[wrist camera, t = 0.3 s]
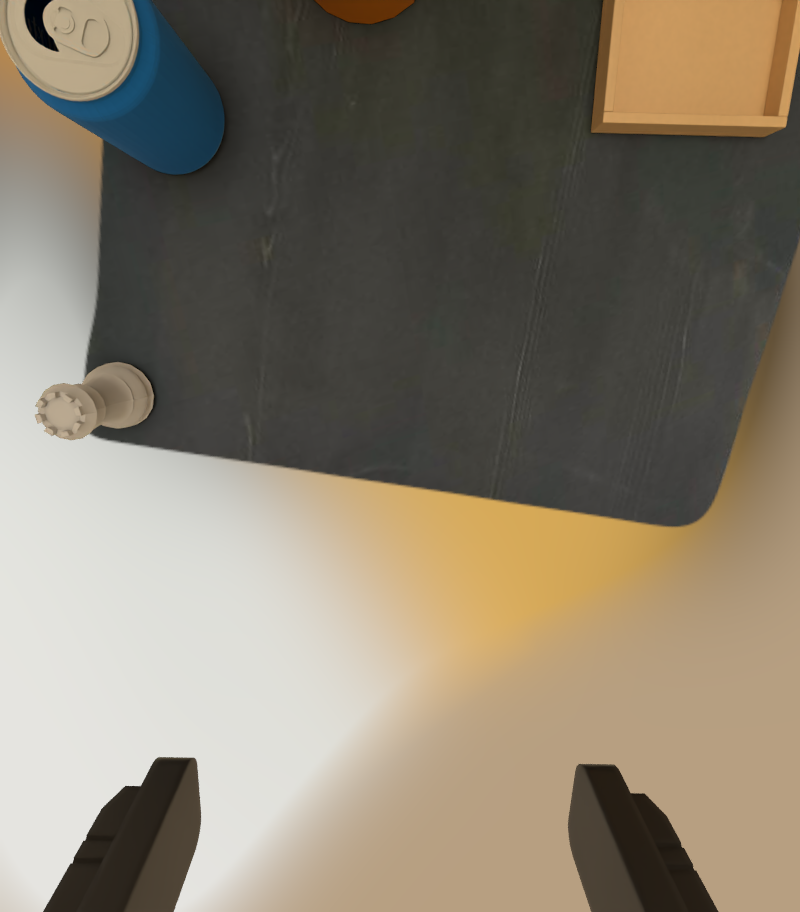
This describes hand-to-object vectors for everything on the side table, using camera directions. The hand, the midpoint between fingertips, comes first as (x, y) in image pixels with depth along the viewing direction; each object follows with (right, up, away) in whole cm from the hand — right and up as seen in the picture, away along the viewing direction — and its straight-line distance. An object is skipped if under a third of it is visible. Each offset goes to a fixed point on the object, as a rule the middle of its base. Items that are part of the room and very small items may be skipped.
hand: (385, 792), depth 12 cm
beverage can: (-14, +28, +23) cm, 38 cm away
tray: (+18, +34, +22) cm, 44 cm away
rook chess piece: (-19, +11, +27) cm, 35 cm away
